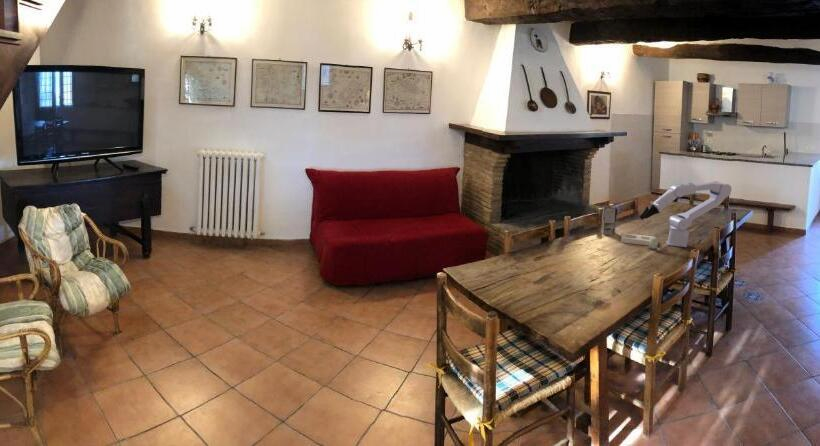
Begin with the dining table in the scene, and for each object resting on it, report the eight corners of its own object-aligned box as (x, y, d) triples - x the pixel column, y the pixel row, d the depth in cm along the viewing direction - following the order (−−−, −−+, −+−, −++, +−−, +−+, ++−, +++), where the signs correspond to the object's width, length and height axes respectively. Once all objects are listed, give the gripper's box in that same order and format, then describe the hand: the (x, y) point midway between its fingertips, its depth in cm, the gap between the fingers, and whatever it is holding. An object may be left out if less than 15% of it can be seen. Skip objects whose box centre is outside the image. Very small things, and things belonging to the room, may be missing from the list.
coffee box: (614, 235, 294) (618, 208, 290) (602, 234, 295) (606, 208, 291) (611, 231, 302) (615, 205, 298) (600, 230, 304) (603, 204, 299)
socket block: (654, 240, 286) (655, 236, 286) (656, 246, 276) (657, 242, 276) (620, 237, 292) (620, 232, 291) (621, 242, 281) (622, 238, 281)
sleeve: (656, 248, 272) (658, 237, 271) (657, 250, 269) (659, 240, 267) (647, 247, 274) (649, 237, 272) (648, 249, 270) (650, 239, 268)
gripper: (653, 197, 281) (634, 213, 283) (662, 194, 267) (641, 211, 268) (662, 207, 280) (642, 222, 281) (671, 204, 266) (650, 221, 267)
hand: (642, 217), depth 275 cm, fingers open, 7 cm apart
